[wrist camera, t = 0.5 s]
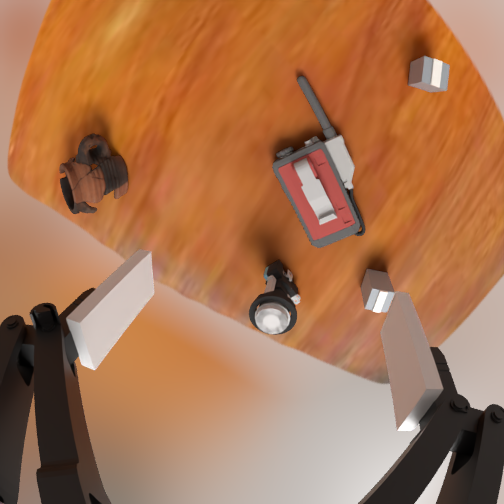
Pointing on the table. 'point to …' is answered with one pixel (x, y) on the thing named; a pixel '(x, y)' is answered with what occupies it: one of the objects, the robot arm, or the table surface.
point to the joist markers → (432, 80)
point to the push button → (275, 302)
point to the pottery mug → (92, 175)
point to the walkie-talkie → (320, 182)
